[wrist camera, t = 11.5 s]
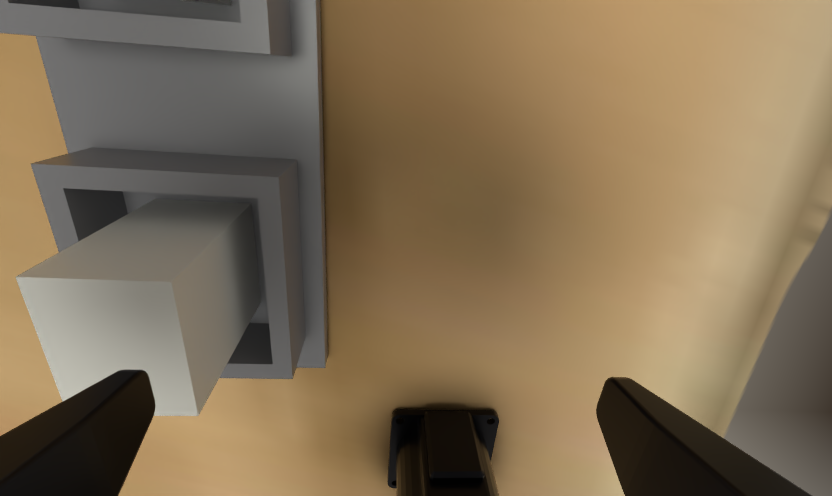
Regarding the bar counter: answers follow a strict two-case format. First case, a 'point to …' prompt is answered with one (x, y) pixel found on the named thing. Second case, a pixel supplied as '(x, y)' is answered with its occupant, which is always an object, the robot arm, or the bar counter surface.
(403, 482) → the robot arm
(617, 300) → the bar counter surface
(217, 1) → the plug
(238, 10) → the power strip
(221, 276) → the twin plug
